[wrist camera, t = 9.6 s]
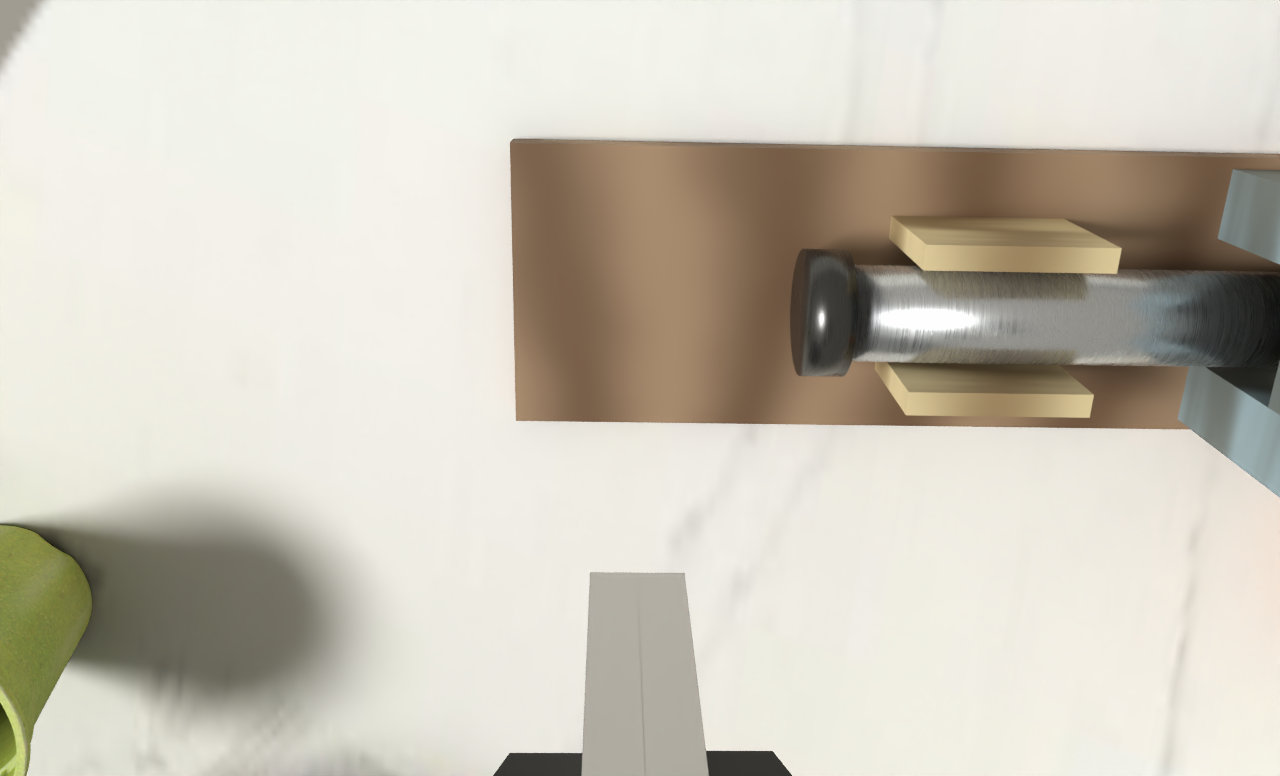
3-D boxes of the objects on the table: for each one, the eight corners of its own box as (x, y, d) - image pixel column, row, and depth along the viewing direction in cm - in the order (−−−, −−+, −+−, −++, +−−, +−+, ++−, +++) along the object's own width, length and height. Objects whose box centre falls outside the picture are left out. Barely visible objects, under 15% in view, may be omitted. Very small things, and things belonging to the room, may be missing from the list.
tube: (786, 352, 37) (806, 394, 33) (795, 235, 36) (817, 266, 32) (1294, 359, 38) (1372, 402, 34) (1324, 245, 36) (1409, 276, 32)
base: (518, 410, 39) (495, 509, 32) (512, 138, 36) (485, 178, 28) (1303, 420, 40) (1461, 519, 33) (1374, 155, 36) (1570, 198, 29)
